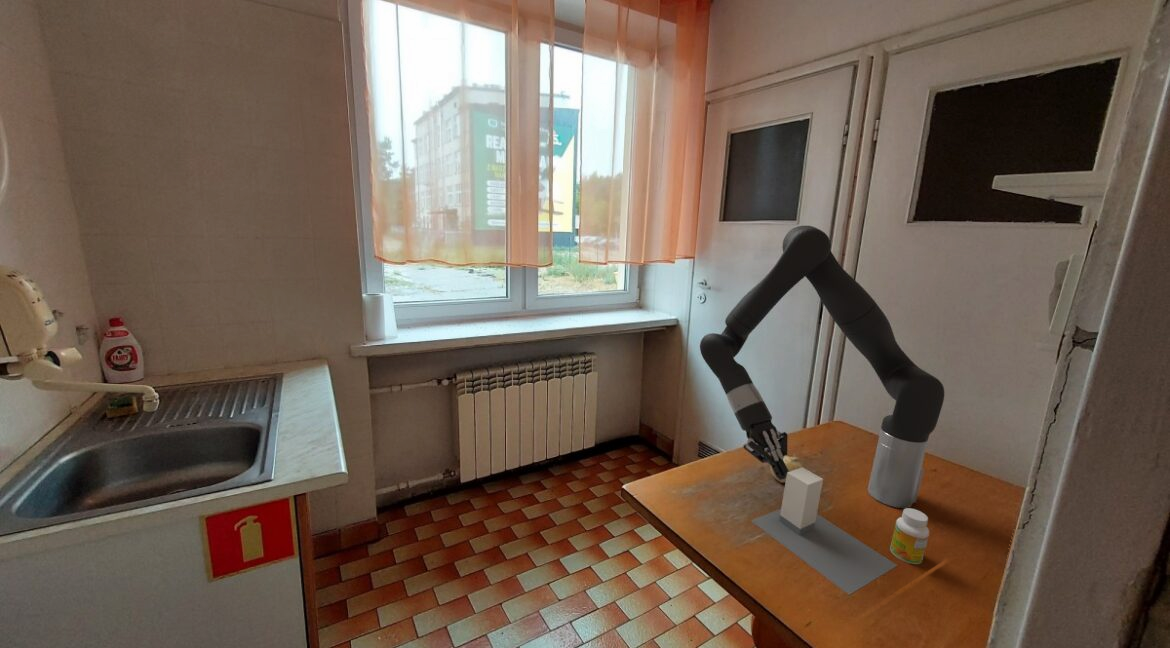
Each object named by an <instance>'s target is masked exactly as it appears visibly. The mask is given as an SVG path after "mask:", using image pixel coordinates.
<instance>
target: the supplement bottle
mask: <svg viewBox="0 0 1170 648" xmlns="http://www.w3.org/2000/svg"><path fill="white" fill-rule="evenodd" d="M928 522H929V517H928V516H927V514H925V513H923V512H922V511H920V510H918V509H916V508H911V507H909V508H903V511H902V514H901V516H900V517H898V518H897V519H896V521H895V525H894V530H893V534H892V538H891V543H890V547H889V549H890V552H891V553H892V554H893V555H894V556H895V557H896V558H897V559H900V560H901V561H902V562H906V563H908V564H914V565H920V564H921V563H922V562H923V559H924V555H925V551H926V549H927V544H928V540H929V537H930V530H929V528H928V526H927V525H928Z"/></svg>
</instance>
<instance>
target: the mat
mask: <svg viewBox="0 0 1170 648" xmlns="http://www.w3.org/2000/svg"><path fill="white" fill-rule="evenodd" d="M780 513H781V508H779V509H776V510H774V511H772V512H769V513H766V514H764V515H762V516H758V517H755V518H754V519H752V520H751V519H750V522H752V523H753V524H754V525H756V526H757V527H758V528H760V529H761V530H762V531H764V532H765V533H766V534H767V535H769V536H770V537H772V539H775V540H776V541H777V542H778V543H779V544H781V545H782V546H783V547H785V548H786V549H788V550H789V551H790V552H791V553H792V554H794V555H795V556H797V557H798V558H799V559H800V560H802V562H804V563H806V564H807V565H808V566H810V567H811V568H813V570H815V571H817V572H818V573H819V574H820V575H822V576H823V577H825V578H826V579H827V580H828V581H830V582H831V583H833V584H834V585H835V586H836V587H838V588H839V589H840V590H841V591H843V592H844V593H846V594H847V595H848V596H851V595H852V594H853V593H855V592H856V591H858V590H860V589H862V588H863V587H865V586H866V585H868V584H870V583H871V582H873V581H875V580H876V579H878V578H880V577H882V576H883V575H884V574H886V573H888V572H889V571H891V570H893V569H894V568H896V567H897V566H898V564H897V563H895V562H894V561H892V560H890V559H888V558H887V557H885V556H884V555H882V554H881V553H879V552H878V551H876V550H874V549H873V548H871V547H870V546H868V545H866V544H865V543H863V542H862V541H861V540H859V539H857V538H856V537H854V536H852V535H851V534H849V533H848V532H846V531H844V530H843V529H841V528H840V527H838V526H836V525H835V524H834V523H832V522H831V521H829V520H828V519H825V518H824V517H823V516H821V515H819V514H818V513H817V515H816V521H815V526H814V529H812V530H809V531H807V532H805V533H803V534H801V535H798V534H797V533H795V532H794V531H793V530H791V529H790V528H788V527H787V526H786V525H784V524H783V523H781V522H780V521H779V519H780Z"/></svg>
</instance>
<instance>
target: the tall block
mask: <svg viewBox="0 0 1170 648" xmlns="http://www.w3.org/2000/svg"><path fill="white" fill-rule="evenodd" d="M823 481H824V478H822V477H820V476H818V475H817V474H815V473H814V472H811V471H809V470H808V469H806V468H804V467H803V468H799V469H796V470H793V471H790V472H787V477H786V483H785V484H784V488H783V489H784V490H783V495H782V501H781V508H780V509H781V513H780V519H779V521H780V522H781V523H783V524H784V525H786V526H787V527H788V528H790V529H791V530H793V531H794V532H795V533H797V534H798V535H801V534H803V533H805V532H807V531H809V530H812V529H814V526H815V521H816V515H817V514H818V509H819V505H820V498H821V494H822V488H823V483H824V482H823Z"/></svg>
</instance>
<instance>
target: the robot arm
mask: <svg viewBox="0 0 1170 648" xmlns="http://www.w3.org/2000/svg"><path fill="white" fill-rule="evenodd" d="M831 245H832V244H831V240H830V238H829V236H828V235H827V234H826V233H825V232H824V231H823V230H822V229H819V228H818V227H815V226H812V225H799V226H795V227H793V228H791V229H790V230H789V231H787V233H786V235H785V236H784V238H783V241H782V254H781V256H780V257H779V258H778V260H777V261H776V263H775V265H774V266H773V267H772V268H771V270H770V271H769V272H768V274H766V275H765V276H764V278H762V280H760V281H759V282H758V283H757V284H756V285H755V286H754V287H752V288H751V289H750V290H749V291H748V292H747V293H746V294H745V295H744V296H743V297H742V298H741V299H740V301H739V302H738V303H737V304H735V306H734V307H733V308H732V309H731V311H730V312H729V313H728V314H727V316H726V317H725V320H724V323H725V326H726V327H724V329H723V331H722V332H721V333H715V332H714V333H713V332H712V333H711V332H710V333H707V334H706V335H704V336H703V337H702V338H701V339H700V343H699V350H700V351H699V352H700V354H701V356H702V359H703V360H704V362H705V363H706V364H707V367H708V368H709V369H710V370H711V371H712V373H713V374H714V375H715V376H716V378H717V379H718V380H719V383H720V385H721V388H722V390H723V392H724V393H725V395H726V398H727V400H728V403H729V405H730V408H731V410H732V412H733V414H734V416H735V418H736V420H737V421H738V424H739V427H740V428H741V430H743V432H744V431H745V434H746V437H747V441H746V443H745V444H743V449H744V450H745V451H747V452H748V453H749V454H751V455H752V456H753V457H754V458H755V459H756V460H758V461H759V462H761V464H765V463H767V464H768V465H771V467H772V469H773V471H774V473H775V475H776V476H777V478H778V479H779V480H782V479H785V478H786V477H787V472H789V471H788V469H787V467H786V465H785V463H784V461H783V459H784V456H788V433H787V432H786V431H783V432H780V431H779V430H778V429H777V427H776V426H775V425H774V424H773V423H772V419H773V416H772V414H771V411H770V410H769V409H768V406H767V404H766V403H765V400H764V399H763V397H762V395H761V394H760V392H759V390H758V389H757V387H756V385H755V384H754V382H753V380H752V379H751V376H750V375H749V372H748V371H747V369H746V368H745V367H744V366H743V365H742V364H740V363H739V362H737V361H736V359H735V357H736V356H737V355H738V354H739V353H740V351H741V350H742V348H743V346H744V345H745V343H746V341H747V340H748V338H749V335H750V334H751V333H752V332H753V331H754V330H755V329H756V327H758V326H759V325H760V324H761V322H762V321H763V320H764V318H766V317H767V315H768V314H769V313H771V310H773V308H775V306H776V305H777V304H778V303H779V302H780V301H781V299H783V298H784V297H785V295H786V294H788V292H790V290H791V289H793V288H794V287H795V286H796V285H797V284H798V283H800V282H801V280H802V279H804V278H806V279H807V280H808V282H809V283H810V284H811V285H812V287H813V289H814V290H815V291H816V294H817V295H818V297H819V298H820V301H821V302H822V304H823V305H824V307H825V309H826V310H827V312H828V313H829V315H830V317H831V318H832V320H833V322H834V323H835V324H836V325H837V327H838V328H839V329H840V330H841V332H842V333H843V335H845V336H846V339H848V341H849V342H851V344H852V345H853V346H854V347H855V348H856V350H857V351H858V352H860V354H861V355H862V356H863V357H864V358H865V359H866V360H867V362H868V363H869V364H870V366H871V367H872V368H873V370H874V372H875V374H876V375H877V377H878V379H879V381H880V382H881V384H882V385H883V387H884V389H885V391H886V393H887V394H888V395H889V396H890V397H891V398H892V399H893V400H895V404H894V408H893V411H892V414H891V415H890V414H888V415H886V416H884V417H883V418H882V422H881V425H880V432H879V436H878V440H877V445H876V450H875V454H874V460H873V463H872V467H871V468H872V469H871V471H870V472H871V473H870V477H869V483H868V486H867V492H868V494H869V495H870V496H871V497H872V498H873V499H875V500H876V501H878V502H880V503H882V504H884V505H887V506H890V507H893V508H898V509H906V508H911V507H912V505H913V504H916V503H917V499H918V495H919V491H920V487H921V484H922V480H923V479H922V478H923V474H924V471H925V467H923V462H924V458H925V454H926V450H927V449H926V448H927V444H928V441H929V437H930V435H931V434H932V433H933V432H934V430H935V429H936V427H937V424H938V421H939V418H940V415H941V410H942V408H943V405H944V400H945V388H944V385H943V383H942V382H941V381H940V379H938V378H937V377H935V376H934V375H933V374H930V373H929V372H927V371H925V370H924V369H922V368H920V366H918V365H917V364H915V363H914V362H913V361H912V359H910V357H909V356H908V355H907V354H906V353H905V352H904V350H903V349H902V348H901V347H900V346H899V344H898V342H897V340H896V338H895V335H894V332H893V328H892V326H891V323H890V321H889V320H888V318H887V316H886V314H885V313H884V312H883V310H882V309H881V307H880V306H879V305H878V303H877V302H876V301H875V299H874V298H873V297H872V296H871V295H870V294H869V293H868V291H866V289H865V288H864V287H863V286H861V284H860V283H859V282H858V281H857V280H855V279H854V278H853V277H852V276H851V275H850V274H849V273H848V272H847V271H846V270H845V269H844V267H842V266H841V264H840V262H839V261H838V260H837V258H836V257H835V255H834V254H833V252H832V250H831V247H832V246H831Z"/></svg>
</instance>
